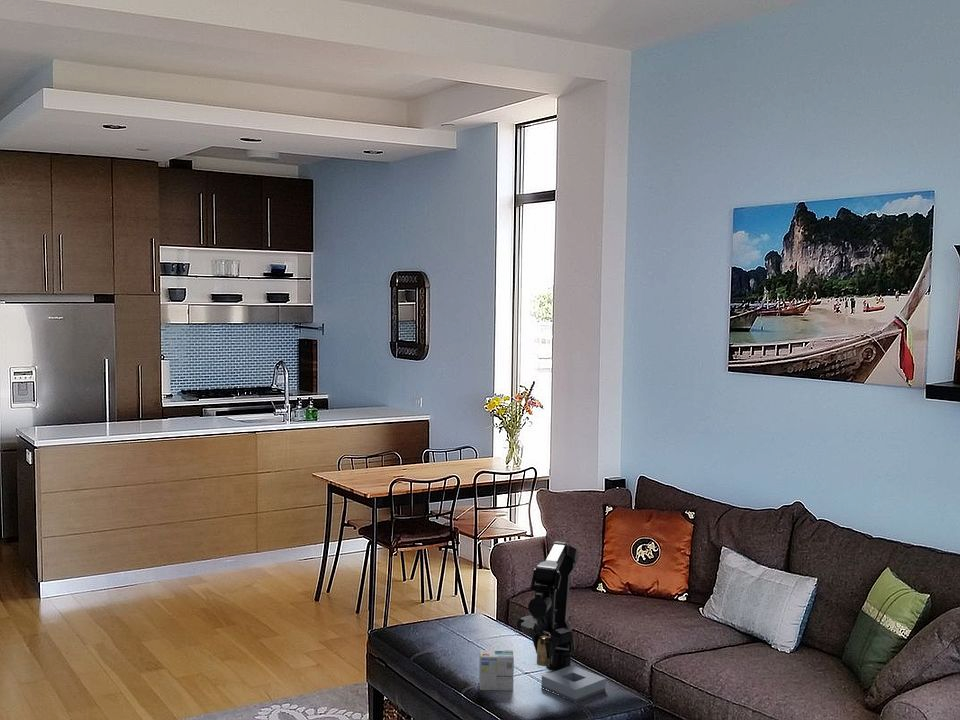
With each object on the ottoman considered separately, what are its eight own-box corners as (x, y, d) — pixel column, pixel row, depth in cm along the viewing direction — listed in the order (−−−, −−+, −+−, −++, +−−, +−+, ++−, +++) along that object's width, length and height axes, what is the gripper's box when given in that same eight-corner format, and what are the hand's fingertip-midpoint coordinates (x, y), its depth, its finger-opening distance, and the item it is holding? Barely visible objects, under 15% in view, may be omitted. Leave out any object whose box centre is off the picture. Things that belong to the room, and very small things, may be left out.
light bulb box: (512, 682, 325) (513, 649, 324) (513, 691, 318) (514, 657, 317) (478, 682, 324) (479, 648, 323) (479, 690, 318) (480, 656, 317)
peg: (534, 663, 316) (534, 637, 315) (543, 660, 318) (544, 634, 318) (543, 667, 313) (544, 641, 312) (552, 664, 315) (553, 638, 315)
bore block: (541, 688, 321) (541, 675, 320) (571, 677, 330) (571, 665, 330) (575, 702, 311) (575, 689, 310) (605, 690, 320) (605, 678, 320)
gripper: (505, 604, 315) (503, 653, 317) (549, 620, 302) (547, 672, 303) (530, 597, 323) (528, 645, 324) (575, 612, 309) (573, 663, 311)
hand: (543, 656), depth 315 cm, fingers closed on peg, 4 cm apart
